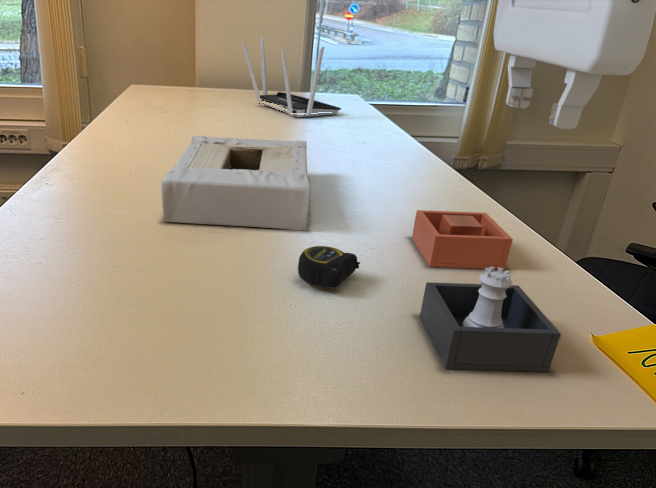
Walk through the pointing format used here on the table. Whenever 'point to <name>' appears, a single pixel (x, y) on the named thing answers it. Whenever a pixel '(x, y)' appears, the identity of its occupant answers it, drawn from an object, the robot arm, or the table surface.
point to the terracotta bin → (461, 242)
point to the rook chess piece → (490, 299)
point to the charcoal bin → (487, 330)
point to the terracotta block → (460, 225)
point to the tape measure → (326, 266)
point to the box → (239, 184)
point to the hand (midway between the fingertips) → (537, 116)
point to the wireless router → (286, 99)
